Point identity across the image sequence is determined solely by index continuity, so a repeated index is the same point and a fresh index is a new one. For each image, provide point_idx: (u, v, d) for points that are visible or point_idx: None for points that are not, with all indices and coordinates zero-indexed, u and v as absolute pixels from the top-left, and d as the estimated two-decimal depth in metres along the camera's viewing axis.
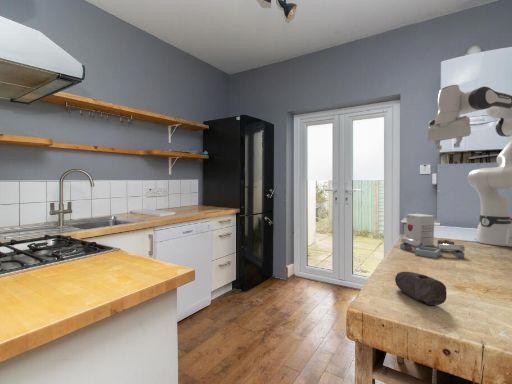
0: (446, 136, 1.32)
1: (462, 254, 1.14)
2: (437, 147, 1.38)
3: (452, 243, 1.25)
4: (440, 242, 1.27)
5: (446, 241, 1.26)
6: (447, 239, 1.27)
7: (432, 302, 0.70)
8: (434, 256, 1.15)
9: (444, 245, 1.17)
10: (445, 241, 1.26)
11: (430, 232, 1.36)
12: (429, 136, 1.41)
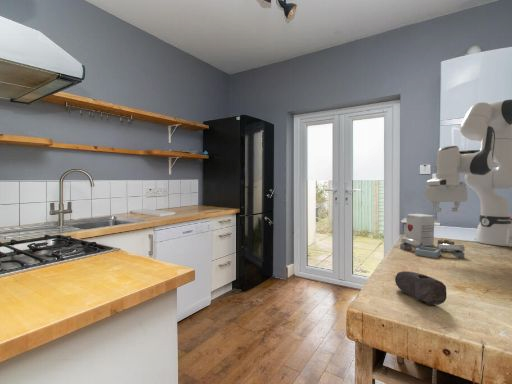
0: (452, 200, 1.24)
1: (462, 254, 1.14)
2: (439, 209, 1.24)
3: (452, 243, 1.25)
4: (440, 242, 1.27)
5: (446, 241, 1.26)
6: (447, 239, 1.27)
7: (432, 302, 0.70)
8: (434, 256, 1.15)
9: (444, 245, 1.17)
10: (445, 241, 1.26)
11: (430, 232, 1.36)
12: (434, 196, 1.22)
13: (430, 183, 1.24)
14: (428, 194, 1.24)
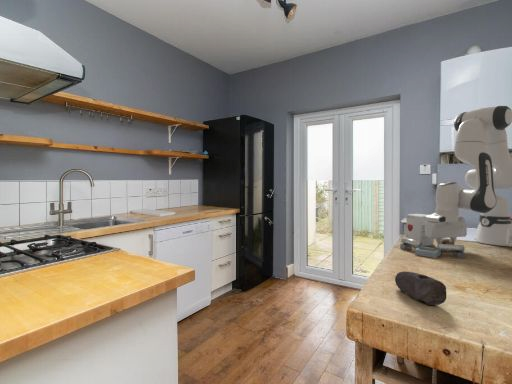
0: (451, 236, 1.25)
1: (462, 254, 1.14)
2: None
3: (452, 243, 1.25)
4: None
5: (446, 241, 1.26)
6: (447, 239, 1.27)
7: (432, 302, 0.70)
8: (434, 256, 1.15)
9: (444, 245, 1.17)
10: (445, 241, 1.26)
11: None
12: (434, 233, 1.23)
13: (429, 219, 1.25)
14: (427, 230, 1.25)
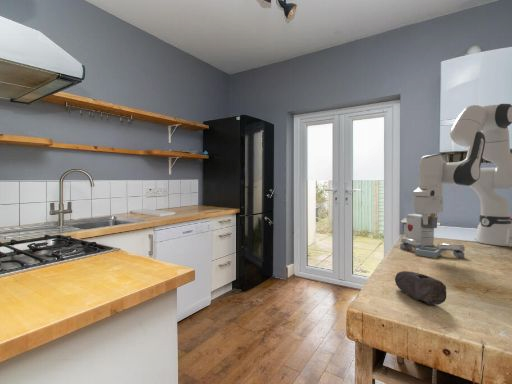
0: (435, 211, 1.18)
1: (462, 254, 1.14)
2: (428, 222, 1.16)
3: (436, 219, 1.18)
4: None
5: None
6: (430, 215, 1.19)
7: (432, 302, 0.70)
8: (434, 256, 1.15)
9: (444, 245, 1.17)
10: (429, 217, 1.18)
11: (430, 232, 1.36)
12: (425, 208, 1.12)
13: (419, 194, 1.14)
14: (417, 206, 1.13)
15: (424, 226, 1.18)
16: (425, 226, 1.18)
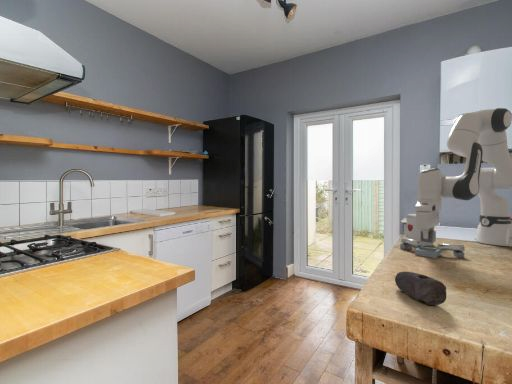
0: (433, 225, 1.19)
1: (462, 254, 1.14)
2: (428, 236, 1.17)
3: (435, 232, 1.19)
4: None
5: None
6: None
7: (432, 302, 0.70)
8: (434, 256, 1.15)
9: (444, 245, 1.17)
10: (429, 231, 1.18)
11: None
12: (427, 223, 1.12)
13: (421, 209, 1.13)
14: (420, 221, 1.13)
15: (424, 240, 1.19)
16: (425, 240, 1.18)
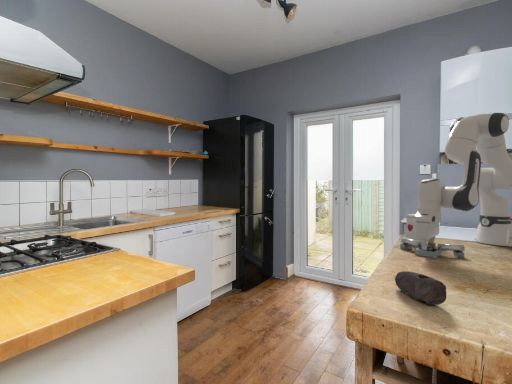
0: (433, 235, 1.19)
1: (462, 254, 1.14)
2: None
3: (434, 245, 1.19)
4: None
5: (429, 243, 1.19)
6: (428, 241, 1.20)
7: (432, 302, 0.70)
8: (434, 256, 1.15)
9: (444, 245, 1.17)
10: (429, 243, 1.19)
11: None
12: (427, 234, 1.12)
13: (420, 220, 1.14)
14: (420, 232, 1.13)
15: None
16: None
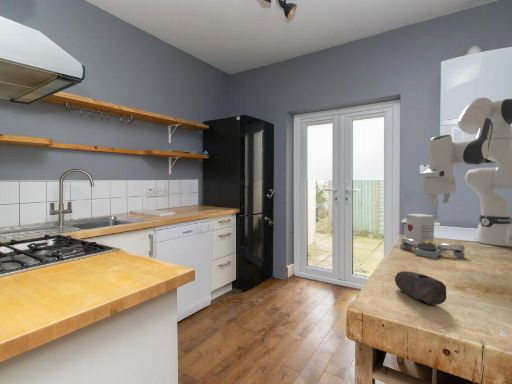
0: (446, 191, 1.20)
1: (462, 254, 1.14)
2: (436, 202, 1.18)
3: (434, 245, 1.19)
4: (424, 245, 1.19)
5: (429, 243, 1.19)
6: (428, 241, 1.20)
7: (432, 302, 0.70)
8: (434, 256, 1.15)
9: (444, 245, 1.17)
10: (429, 243, 1.19)
11: (430, 232, 1.36)
12: (434, 189, 1.15)
13: (428, 175, 1.16)
14: (427, 186, 1.16)
15: None
16: None
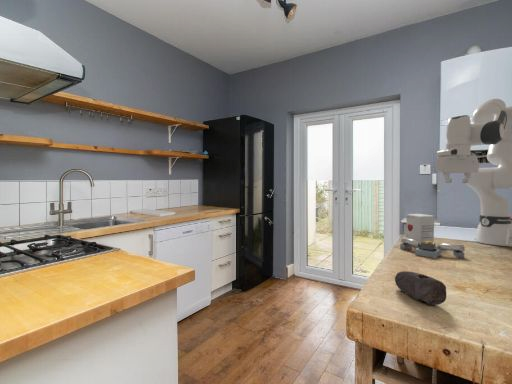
0: (463, 171, 1.22)
1: (462, 254, 1.14)
2: (450, 180, 1.21)
3: (434, 245, 1.19)
4: (424, 245, 1.19)
5: (429, 243, 1.19)
6: (428, 241, 1.20)
7: (432, 302, 0.70)
8: (434, 256, 1.15)
9: (444, 245, 1.17)
10: (429, 243, 1.19)
11: (430, 232, 1.36)
12: (445, 166, 1.19)
13: (440, 153, 1.21)
14: (438, 164, 1.21)
15: None
16: None
